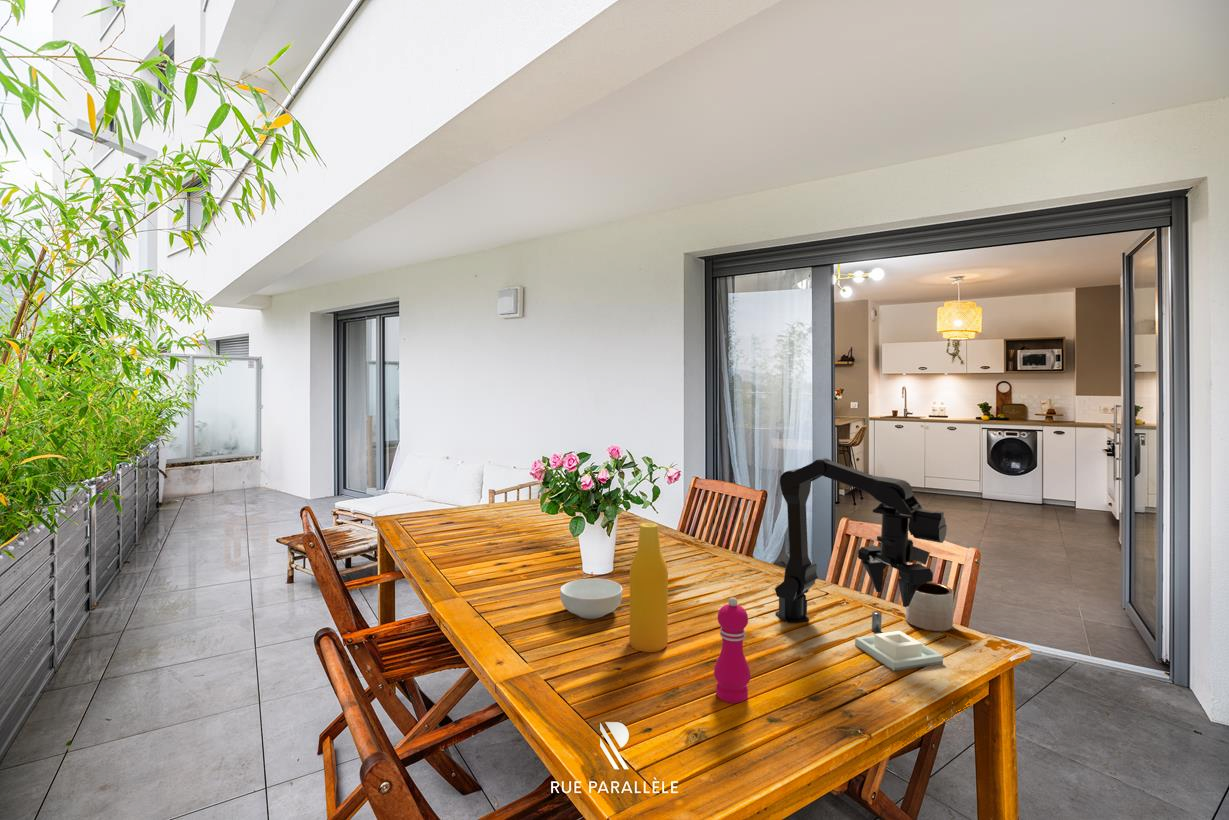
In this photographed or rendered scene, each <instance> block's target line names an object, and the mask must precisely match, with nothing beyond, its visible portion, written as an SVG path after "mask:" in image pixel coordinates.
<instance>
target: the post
mask: <svg viewBox="0 0 1229 820" xmlns="http://www.w3.org/2000/svg"><path fill="white" fill-rule="evenodd" d="M882 615H883V613H882V612H880V611H872V612H871V631H872V632H874V633H876V634H879V633H882Z"/></svg>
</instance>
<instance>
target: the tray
mask: <svg viewBox="0 0 1229 820" xmlns="http://www.w3.org/2000/svg"><path fill="white" fill-rule="evenodd" d="M854 646H856V647H858V648H859V649H860V650H861V651H863V652H865V654H868V655H869V656H870V657H872V658H873V659H875V660H877V662H879V663H881V664H883V665H884V666H885V667H887V668H888V669H890V670H892V671H893V672H898V671H902V670H903V671H904V670H910V669H916V668H922V667H929V666H936V665H942V664H944V655H942V654H941V653H939V652H937V651H935V650H934V649H932V648H930V647H929V646H927V645H925V644H923V643H922V656H921V657H914V658H907V659H901V660H895V659H893V658H892V657H890V656H888V655H887V654H885V653H884V652H882V651H881V650H879V649H878V648H876V647H874V646H875V634H874V635H865V636H859V637H855V639H854Z"/></svg>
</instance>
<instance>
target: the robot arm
mask: <svg viewBox="0 0 1229 820" xmlns="http://www.w3.org/2000/svg"><path fill="white" fill-rule="evenodd" d="M821 477H825V478H828V479H830V480H833V481H835V482H839V483H841V484H844V485H847V486H849V487H851V488H852V487H853V488H854V489H858V490H860V491H863V492H864V493H867V494H868V495H869V496H870V497H872V498H873V499H874V500H875V501H878V502H880V503H879V504H878V506H877V507H874V509H872V513H874V514H881V528H880V529H881V530H880V531H881V532H880V535H877V536H876V541H878V542H880V546H878V545H871V546H861V547H860V548H859V549H858V551H857V559H859V560H860V563H861V564H862V565H863V566H864V568H865V570H866V572H867V574H868V576H869V578H870V580H871V583H872V586H873V587H874V589H875V591H876V593H881V592H882V589H883V582H884V574H885V573H884V572H885V569H886V567H887V566H889V567H891V568H893V569H896V570H898V576H899V577H900V578H897V581H898V587H899V593H900V596H901V602H902V606H903V607H904V608H906V607H908V606H909V604H910V602H911V600H912V598H913V596H914V594H915V592H916V590H917V588H918V587H919V586H920V585H921V584H925V583H927V582H933V580H934V571H933V570H932V569H931V568H930V567H927V563H928V560H929V557H930V554H931V552H929V551H927V550H925V549H922V548H920V547H917V546H914V541H913V540H912V539H909V533H910V536H912V537H913V538H914V539H919V540H923V541H924V540H925V541H928V542H932V543H933V542H935V543H938V544H939V543H940V544H943V542H944V541H945V539H946V537H947V536H946V535H947V529H948V528H947V527H948V525H947V524H946V518H945V513H944V511H937V510H936V511H934V510H932V511H931V510H927V509H923V507H922V506H921V504H920V502H919V501H918V499H917V498H916V497H915V495H914V490H913V488H912V485H911V484H910V483H909V482H908V481H907V480H903V479H899V478H894V477H888V476H887V477H886V476H877V475H876V476H875V475H873V474H869V473H867V472H864V471H860V470H858V469H855V468H852V467H849V466H846V465H844V464H842V463H838V462H835V461H832V460H830V459H829V458H826V457H823V458H818V459H816V460H814V461H813V462H810V463H809V464H807V465H805V466H803V467H801V468H800V467H799V468H795V469H790V470H786V471H785V472H782V474H781V475H780V477H779V486H780V490H781V495H782V496H783V499H784V501H785V502H786V507H787V511H786V512H787V524H788V525H787V527H788V528H787V530H788V532H787V533H788V551H789V552H788V554H789V557H788V561H787V563H786V565H785V569H784V574H783V582H781V583H780V584H779V585H778V586H776V587H775V588H774V591H775V594H776V596H777V597H778V611H775V615H777V616H778V617H779V618H781V620H784V621H785V622H786V623H796V622H797V623H798V622H804V621H805V622H806V621H809V620H810V617H808V616H807V615H808V600H807V595H806V593H809V590H810V589H811V588H812V587H813V586H814V585H815V584H816V580H818V579H819V577H818V573H817V568H818V565H817V563H812V562H811V559H810V557H809V549H808V548H809V547H808V524H807V522H808V521H807V520H808V519H807V501H808V498H809V495H810V493H811V487H812V482H814V481H816V480H818V479H819V478H821ZM914 562H919V563H914ZM907 563H909V564H907ZM922 564H923V565H922Z"/></svg>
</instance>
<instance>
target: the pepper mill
mask: <svg viewBox="0 0 1229 820" xmlns="http://www.w3.org/2000/svg"><path fill="white" fill-rule="evenodd" d="M717 622H718V624H719V626H720V628H719V632H720V633H719V636H720V637H721V639H722V640H721V642H722V644H721V650H720V653H719V656H718V657H717V659H716V662H715V665H714V669H713V677H714V678H715V679H714V680H716V682H717V683H716V686H715V688H716V689H715V690H716V691H715V694H716V697H718V699H720V700H721V701H724V702H727V703H732V704H738V703H743V702H745V701H746V700H748V697H749V688H748V684H749V683H750V681H751V669H750V667H749V663H748V661H747V659H746V657H745V652H744V647H743V645H744V639H746V629H745V628H746V627H747V626H748V624H749V616H748V613H747V611H746V609H745V608H744V607H743V606H741V605H740V604H738V600H737V598H736V597H733V596H731V597H729V599H728V603H727V604H725V605H724V604H723V606H721V607H720V608H719V610H718V613H717Z"/></svg>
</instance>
